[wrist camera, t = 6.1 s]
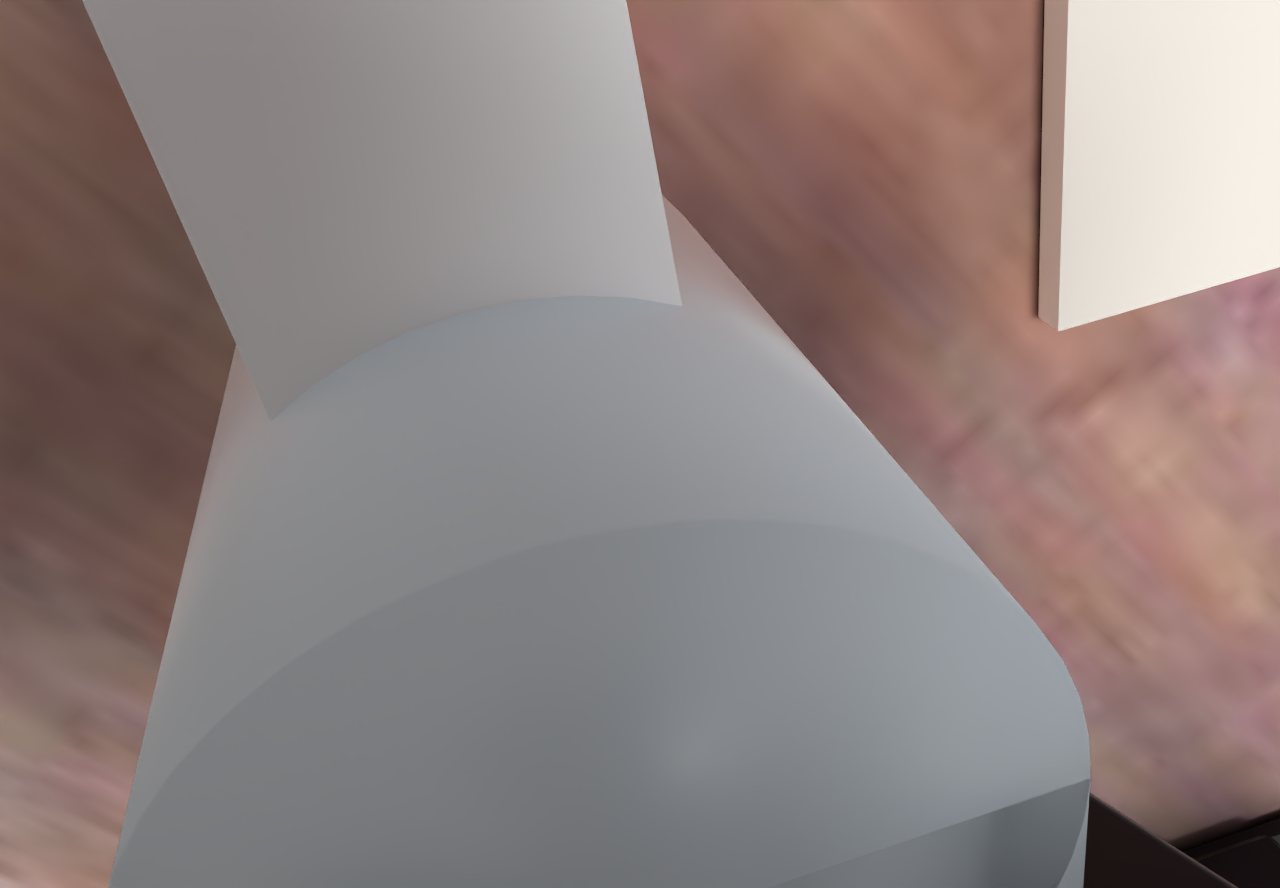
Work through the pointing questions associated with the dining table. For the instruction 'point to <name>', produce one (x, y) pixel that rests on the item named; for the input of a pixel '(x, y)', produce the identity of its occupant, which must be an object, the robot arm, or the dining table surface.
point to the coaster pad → (1156, 151)
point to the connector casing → (540, 506)
